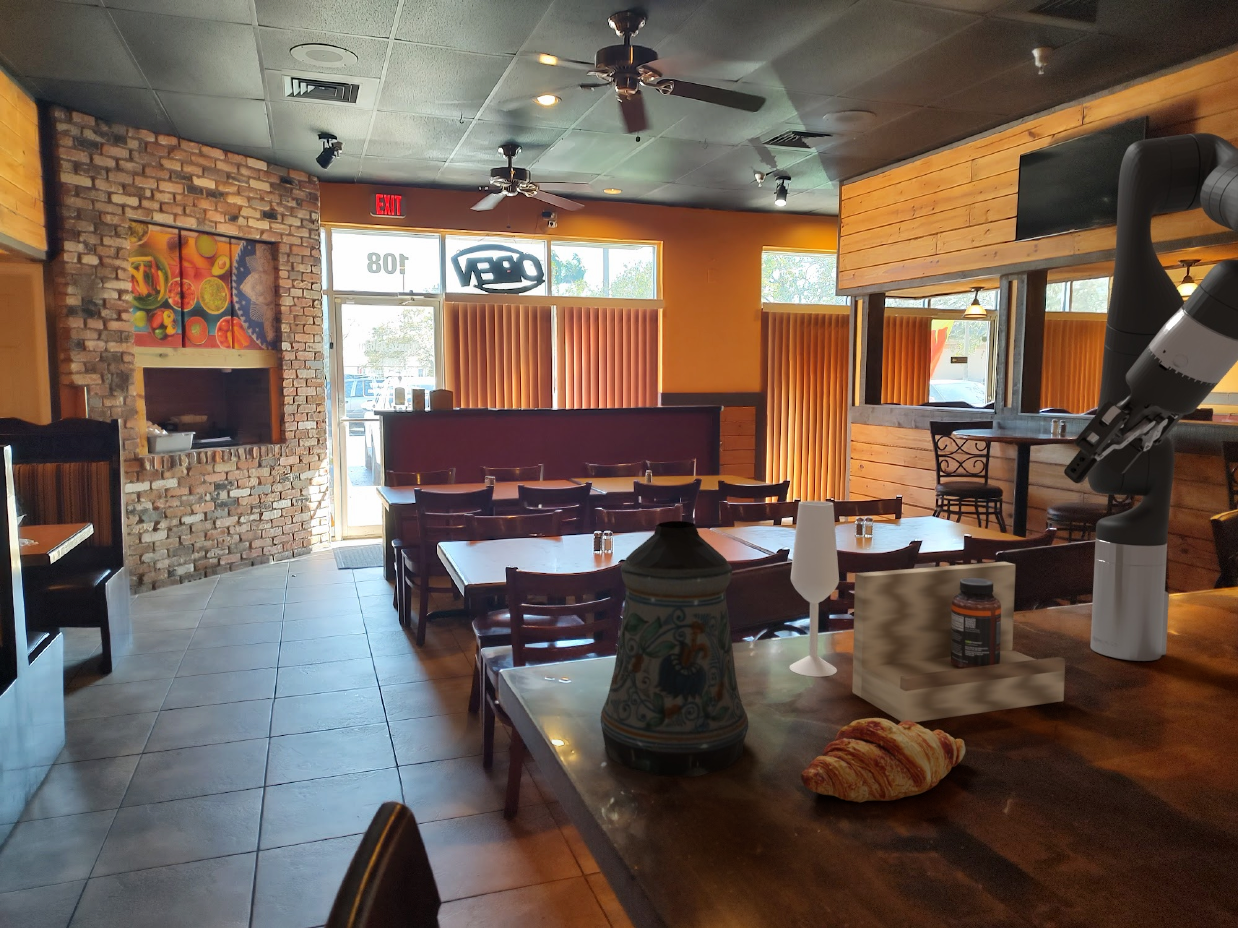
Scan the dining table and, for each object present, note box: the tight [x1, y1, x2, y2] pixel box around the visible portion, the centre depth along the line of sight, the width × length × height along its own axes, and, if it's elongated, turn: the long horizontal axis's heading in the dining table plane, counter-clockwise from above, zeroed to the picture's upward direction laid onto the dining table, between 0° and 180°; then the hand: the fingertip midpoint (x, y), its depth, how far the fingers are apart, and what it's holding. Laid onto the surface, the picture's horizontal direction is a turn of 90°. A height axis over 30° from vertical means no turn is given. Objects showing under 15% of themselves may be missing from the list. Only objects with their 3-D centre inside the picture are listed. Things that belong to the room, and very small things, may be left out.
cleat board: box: [852, 561, 1066, 723], centre depth 108 cm, size 24×11×16 cm, turn 108°
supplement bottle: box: [951, 578, 1001, 669], centre depth 108 cm, size 6×6×11 cm
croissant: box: [800, 717, 966, 803], centre depth 86 cm, size 21×10×8 cm, turn 117°
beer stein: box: [600, 520, 750, 777], centre depth 95 cm, size 16×19×25 cm
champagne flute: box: [789, 500, 840, 677], centre depth 119 cm, size 7×7×24 cm
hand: (1092, 473), depth 98 cm, fingers open, 8 cm apart
